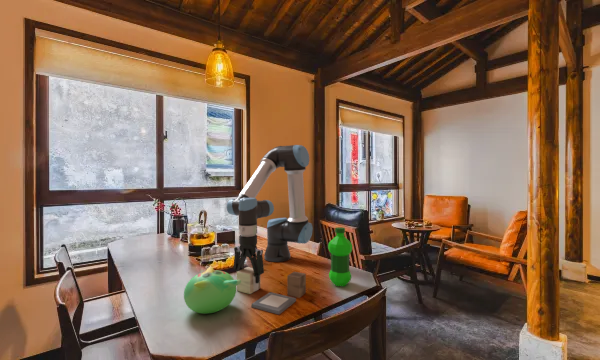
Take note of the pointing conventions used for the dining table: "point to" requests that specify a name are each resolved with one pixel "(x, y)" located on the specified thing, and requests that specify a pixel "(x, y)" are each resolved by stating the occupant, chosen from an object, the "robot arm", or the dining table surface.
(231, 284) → the round green bird figurine
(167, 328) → the dining table surface
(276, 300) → the slate pad
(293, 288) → the walnut block
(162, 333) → the dining table surface
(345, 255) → the plastic bottle
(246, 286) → the maple block
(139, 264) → the dining table surface
